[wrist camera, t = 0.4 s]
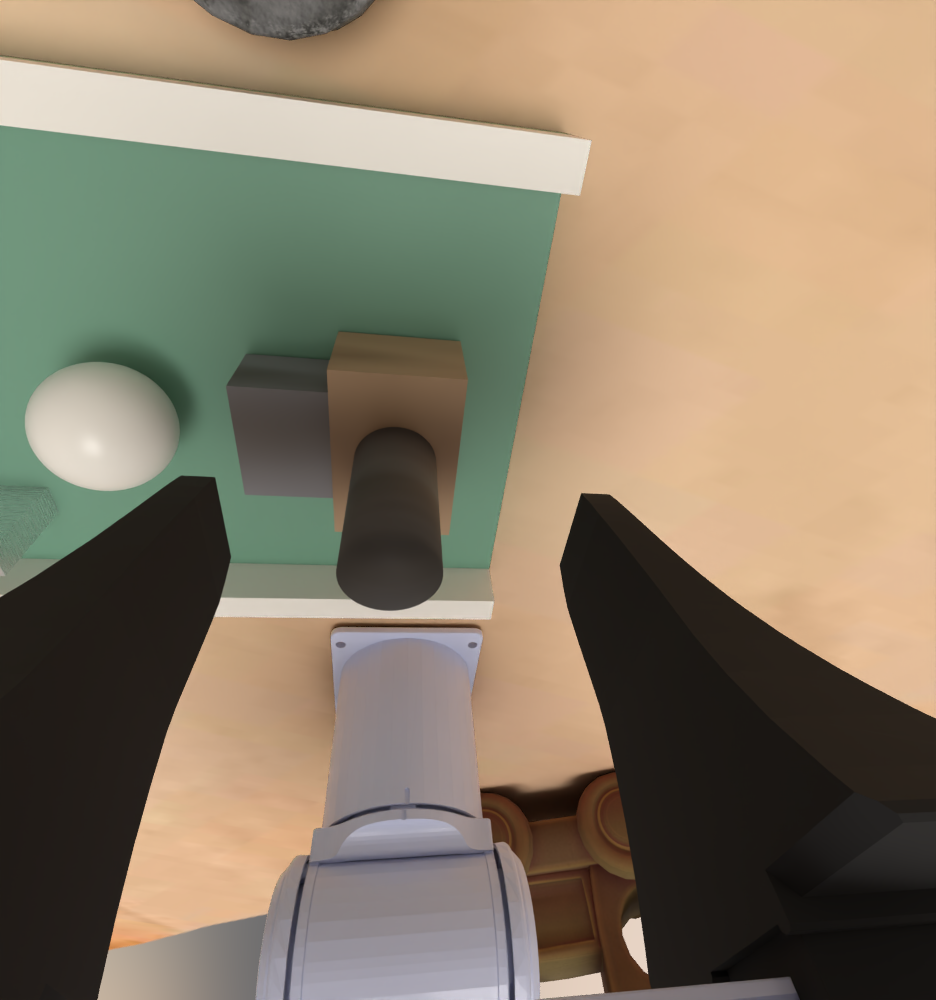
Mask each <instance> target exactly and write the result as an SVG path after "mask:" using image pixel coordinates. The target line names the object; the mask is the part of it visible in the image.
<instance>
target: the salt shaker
mask: <svg viewBox="0 0 936 1000" xmlns="http://www.w3.org/2000/svg"><path fill="white" fill-rule="evenodd" d="M194 1H195V2H196V3H198V4H199V5H200V6H201V7H202V8H204V9H205V10H206V11H207V12H209V13H210V14H211V15H212V16H215V17H217V18H219V19H221V20H223V21H225V22H227V23H229V24H231V25H233V26H236V27H238V28H240V29H242V30H244V31H246V32H248V33H250V34H253V35H259V36H266V37H272V38H279V39H285V40H295V39H300V38H306V37H311V36H316V35H321V34H326V33H328V32H330V31H333V30H338V29H340V28H341V27H343V26H345V25H346V24H348V23H350V22H351V21H353V20H355V19H356V18H358V17H360V16H361V15H362V14H363V13H364V12H365V11H366V10H367V9H368V7H369V6H370V5H371V4H372V3H373V2H374V0H194Z"/></svg>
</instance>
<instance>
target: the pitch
mask: <svg viewBox="0 0 936 1000" xmlns="http://www.w3.org/2000/svg"><path fill="white" fill-rule="evenodd" d="M591 141H592V140H588V139H585V138H581V137H577V136H574V135H570V134H567V133H562V132H555V131H547V130H540V129H533V128H525V127H518V126H511V125H504V124H496V123H489V122H482V121H475V120H467V119H460V118H453V117H445V116H438V115H431V114H424V113H416V112H409V111H402V110H395V109H387V108H380V107H373V106H366V105H358V104H351V103H344V102H336V101H329V100H322V99H315V98H307V97H300V96H293V95H286V94H278V93H271V92H264V91H256V90H249V89H242V88H235V87H227V86H220V85H213V84H206V83H198V82H191V81H184V80H176V79H169V78H162V77H155V76H147V75H140V74H133V73H126V72H118V71H111V70H104V69H97V68H89V67H82V66H75V65H67V64H60V63H53V62H46V61H38V60H31V59H24V58H17V57H9V56H2V55H0V485H5V486H31V487H48V488H49V490H50V492H51V494H52V497H53V499H54V501H55V503H56V506H57V508H58V510H59V513H58V514H57V515H56V516H55V518H54V519H53V520H52V521H51V522H50V524H49V525H48V526H47V527H46V528H45V530H44V531H43V532H42V533H41V534H40V536H39V537H38V538H37V539H36V540H35V542H34V543H33V544H32V545H31V546H30V547H29V549H28V550H27V551H26V552H25V553H24V555H23V556H22V557H21V558H20V559H19V561H18V562H17V563H16V564H15V565H14V567H13V568H12V569H11V570H10V571H9V573H8V574H7V575H6V576H0V597H1V596H3V595H4V594H6V593H8V592H10V591H11V590H13V589H15V588H16V587H18V586H20V585H21V584H23V583H25V582H26V581H28V580H30V579H31V578H33V577H35V576H36V575H38V574H39V573H41V572H42V571H44V570H45V569H47V568H48V567H50V566H51V565H53V564H55V563H56V562H58V561H59V560H61V559H62V558H64V557H65V556H67V555H68V554H70V553H71V552H73V551H74V550H76V549H77V548H79V547H81V546H82V545H84V544H85V543H87V542H88V541H90V540H91V539H93V538H94V537H95V536H97V535H98V534H100V533H101V532H102V531H104V530H105V529H107V528H108V527H109V526H111V525H112V524H114V523H115V522H116V521H118V520H119V519H121V518H122V517H123V516H125V515H126V514H128V513H129V512H130V511H132V510H133V509H134V508H136V507H137V506H139V505H140V504H141V503H143V502H144V501H145V500H147V499H148V498H149V497H151V496H152V495H154V494H155V493H156V492H158V491H159V490H160V489H162V488H163V487H165V486H166V485H167V484H169V483H170V482H172V481H173V480H175V479H176V478H178V477H179V476H181V475H183V476H205V477H215V479H216V484H217V489H218V494H219V499H220V504H221V509H222V514H223V519H224V523H225V528H226V533H227V538H228V543H229V548H230V553H231V560H230V564H229V568H228V572H227V576H226V581H225V584H224V588H223V592H222V595H221V599H220V602H219V605H218V608H217V610H216V613H215V615H214V617H274V618H385V619H491V615H492V610H493V605H494V596H493V590H492V584H491V578H490V571H489V567H490V561H491V556H492V551H493V546H494V541H495V535H496V530H497V525H498V520H499V515H500V509H501V504H502V499H503V494H504V489H505V483H506V478H507V473H508V468H509V462H510V457H511V452H512V447H513V442H514V436H515V431H516V426H517V421H518V416H519V410H520V405H521V400H522V395H523V389H524V384H525V379H526V374H527V369H528V363H529V358H530V353H531V348H532V343H533V337H534V332H535V327H536V322H537V317H538V311H539V306H540V301H541V296H542V290H543V285H544V280H545V275H546V270H547V264H548V259H549V254H550V249H551V244H552V238H553V233H554V228H555V223H556V218H557V212H558V207H559V202H560V197H561V193H562V194H570V195H579V196H580V193H581V189H582V184H583V179H584V174H585V170H586V165H587V160H588V155H589V151H590V146H591ZM338 331H339V332H351V333H364V334H376V335H389V336H401V337H413V338H426V339H438V340H451V341H461V346H462V352H463V357H464V362H465V367H466V372H467V377H468V384H467V392H466V400H465V408H464V416H463V425H462V433H461V441H460V449H459V457H458V466H457V474H456V482H455V490H454V498H453V507H452V515H451V523H450V531H449V535H441V544H442V559H443V580H442V583H441V585H440V587H439V589H438V590H437V592H436V593H435V594H434V595H433V596H432V597H431V598H430V599H428V600H427V601H425V602H423V603H422V604H420V605H417V606H415V607H412V608H409V609H404V610H397V611H382V610H376V609H371V608H368V607H365V606H362V605H360V604H358V603H356V602H355V601H353V600H352V599H350V598H349V597H348V596H347V595H346V594H345V593H344V592H343V591H342V590H341V588H340V586H339V584H338V582H337V578H336V568H337V561H338V555H339V549H340V542H341V536H342V532H335V527H334V507H333V498H312V497H286V496H260V495H245V493H244V487H243V482H242V476H241V470H240V464H239V459H238V453H237V447H236V441H235V436H234V430H233V424H232V418H231V413H230V407H229V401H228V395H227V390H226V385H227V383H228V382H229V380H230V379H231V377H232V375H233V374H234V372H235V371H236V369H237V367H238V366H239V364H240V363H241V361H242V360H243V358H244V356H245V355H246V354H255V355H268V356H282V357H296V358H309V359H323V360H330V357H331V354H332V351H333V348H334V344H335V341H336V338H337V334H338ZM86 362H107V363H114V364H119V365H123V366H126V367H129V368H131V369H133V370H136V371H138V372H140V373H142V374H143V375H145V376H147V377H148V378H150V379H151V380H152V381H154V382H155V383H156V384H157V385H158V386H159V387H160V388H161V389H162V390H163V391H164V392H165V393H166V395H167V396H168V397H169V399H170V400H171V402H172V403H173V406H174V408H175V410H176V413H177V416H178V419H179V425H180V437H179V443H178V447H177V450H176V452H175V454H174V456H173V458H172V460H171V461H170V463H169V464H168V465H167V467H166V468H165V469H164V470H163V471H162V472H161V473H159V474H158V475H157V476H156V477H154V478H153V479H151V480H149V481H148V482H146V483H144V484H142V485H139V486H136V487H133V488H129V489H125V490H117V491H99V490H92V489H87V488H83V487H79V486H76V485H74V484H71V483H69V482H67V481H65V480H63V479H61V478H60V477H58V476H57V475H55V474H54V473H52V472H51V471H50V470H48V469H47V468H46V467H45V466H44V465H43V464H42V462H41V461H40V460H39V459H38V458H37V456H36V455H35V453H34V452H33V450H32V448H31V446H30V444H29V441H28V439H27V435H26V431H25V413H26V408H27V404H28V402H29V399H30V397H31V396H32V394H33V392H34V391H35V389H36V388H37V387H38V386H39V385H40V384H41V383H42V382H43V381H44V380H45V379H46V378H47V377H49V376H50V375H52V374H53V373H55V372H57V371H58V370H60V369H63V368H65V367H68V366H71V365H75V364H79V363H86Z"/></svg>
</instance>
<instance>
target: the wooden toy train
mask: <svg viewBox="0 0 936 1000" xmlns="http://www.w3.org/2000/svg"><path fill="white" fill-rule="evenodd" d="M480 796H481V807H482V817H483V818H489V819H490V821H491V830H492V839H493V843H499V842H505V843H507V844H508V845H509V847H510V848H511V850H512V851H513V852H514V853H515V855H516V856H517V857H518V858H519V859H520V860H521V862H522V865H523V867H524V870H525V873H526V877H527V881H528V885H529V890H530V895H531V900H532V906H533V913H534V920H535V927H536V936H537V946H538V958H539V975H540V982H547V981H555V980H562V979H569V978H574V977H579V976H584V975H589V974H594V973H599V972H601V977H602V982H603V987H604V992H605V993H614V992H625V991H636V990H648V989H651V986H650V982H649V975H648V974H647V973H645V972H643V970H642V969H641V968H640V966H639V965H638V964H637V963H636V961H635V960H634V959H633V958H632V957H631V955H630V953H629V950H628V948H627V946H626V943H625V941H624V938H623V936H622V928H623V927H624V926H625V924H626V923H627V922H628V920H629V919H631V918H634V919H636V918H639V917H641V915H640V909H639V902H638V895H637V888H636V881H635V875H634V870H633V864H632V858H631V852H630V846H629V840H628V835H627V829H626V823H625V818H624V813H623V808H622V803H621V798H620V793H619V787H618V782H617V777H616V772H612V773H609V774H606V775H603V776H600V777H598V778H596V779H595V780H594V781H593V782H591V783H590V784H589V785H587V787H586V789H585V790H584V792H583V794H582V795H581V797H580V799H579V804H578V808H577V812H576V814H577V815H574V816H567V817H561V818H554V819H548V820H541V821H535V822H528V820H527V818H526V817H525V815H524V814H523V812H522V811H521V809H520V808H519V807H518V806H517V805H516V804H514V803H513V802H512V801H511V800H509V799H508V798H506V797H503V796H501V795H498V794H495V793H480Z"/></svg>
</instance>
